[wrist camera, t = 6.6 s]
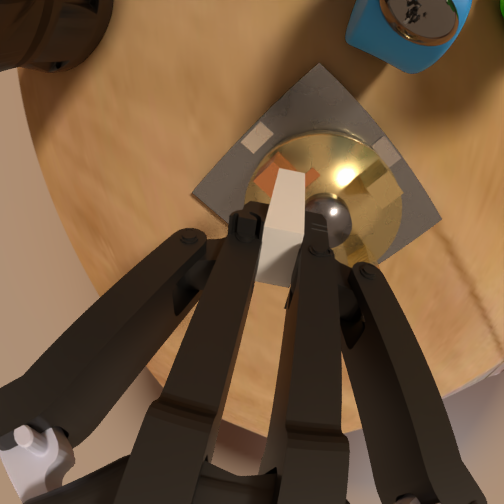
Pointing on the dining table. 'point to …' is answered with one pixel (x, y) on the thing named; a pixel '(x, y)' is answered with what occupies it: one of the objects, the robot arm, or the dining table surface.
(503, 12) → the plastic bottle
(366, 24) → the alarm clock
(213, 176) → the spindle plate
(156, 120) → the dining table surface
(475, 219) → the dining table surface
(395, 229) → the notched brass disc
